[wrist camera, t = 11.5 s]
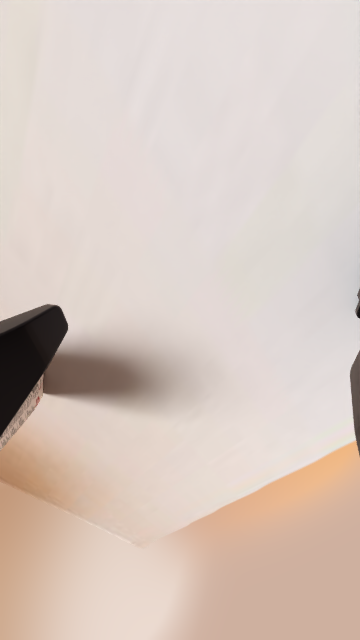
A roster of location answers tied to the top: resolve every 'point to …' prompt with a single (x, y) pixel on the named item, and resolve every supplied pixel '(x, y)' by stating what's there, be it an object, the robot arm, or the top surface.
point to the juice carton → (23, 412)
